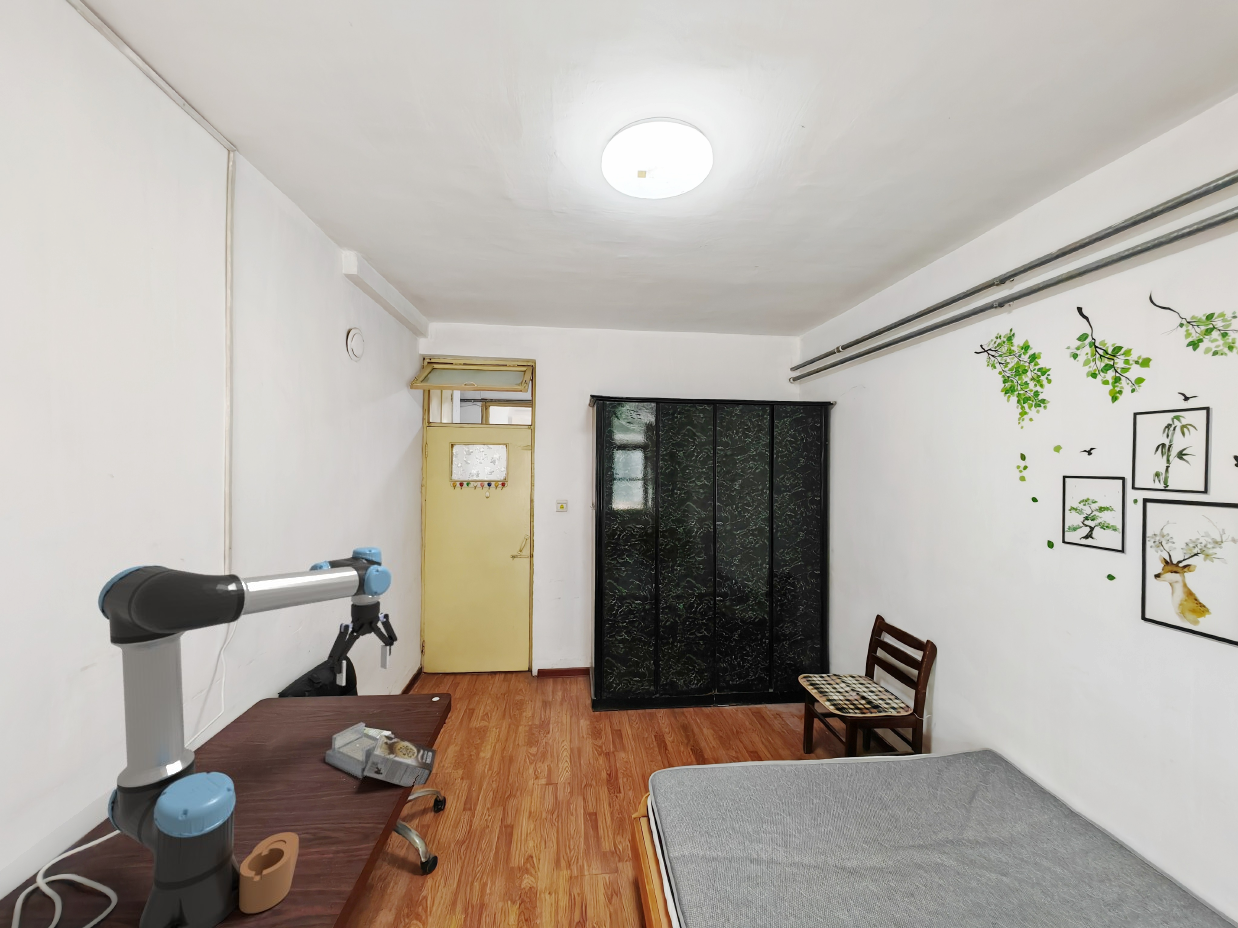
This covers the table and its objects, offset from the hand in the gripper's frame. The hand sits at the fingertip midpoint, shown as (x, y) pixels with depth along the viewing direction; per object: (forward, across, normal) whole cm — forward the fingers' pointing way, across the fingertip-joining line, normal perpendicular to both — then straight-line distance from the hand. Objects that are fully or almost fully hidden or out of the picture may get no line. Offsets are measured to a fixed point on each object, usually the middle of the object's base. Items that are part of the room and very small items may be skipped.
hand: (363, 675), depth 144 cm
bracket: (+25, -34, -21) cm, 47 cm away
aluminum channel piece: (+24, 0, 0) cm, 24 cm away
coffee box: (+16, -5, -11) cm, 21 cm away
